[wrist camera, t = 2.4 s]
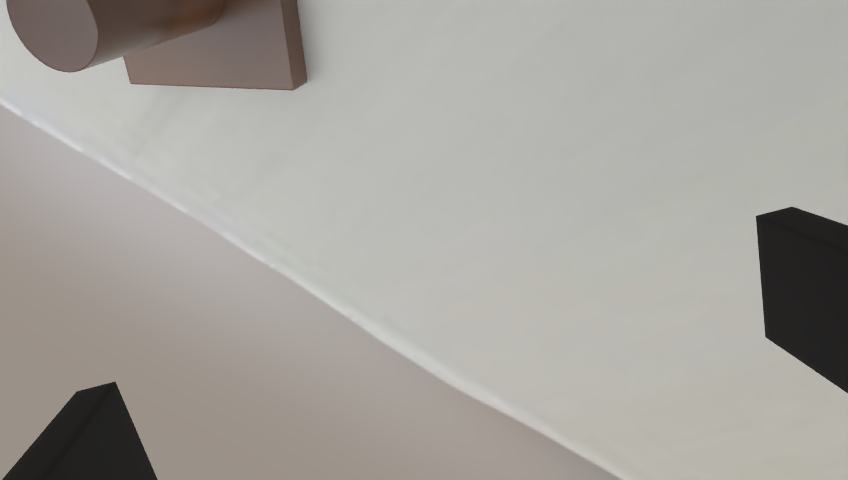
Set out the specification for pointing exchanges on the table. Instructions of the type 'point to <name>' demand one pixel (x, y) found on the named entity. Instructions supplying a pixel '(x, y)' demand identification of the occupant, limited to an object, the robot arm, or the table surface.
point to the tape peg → (169, 39)
